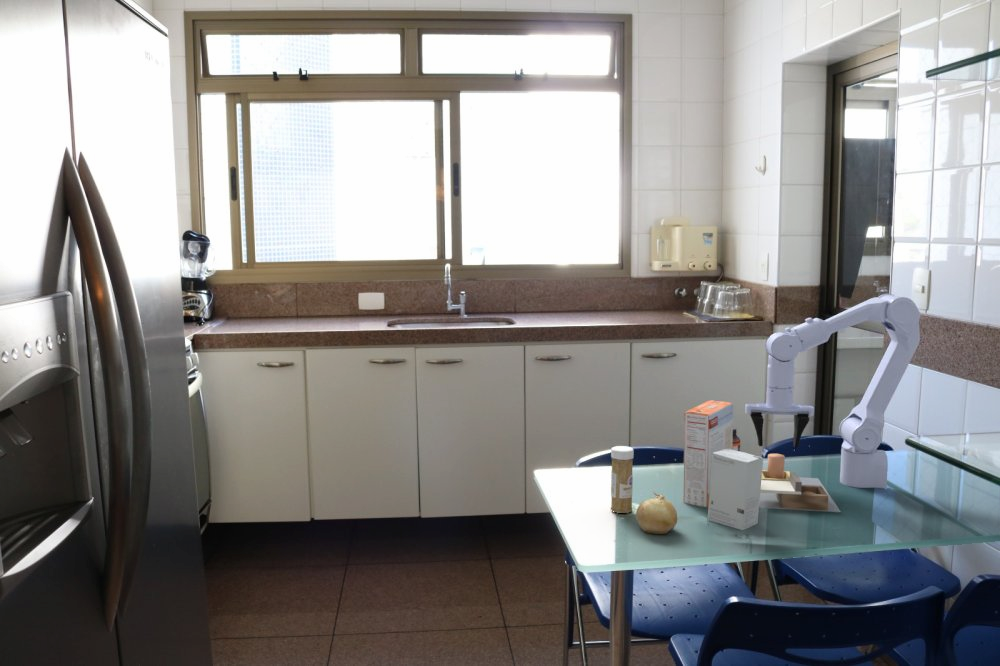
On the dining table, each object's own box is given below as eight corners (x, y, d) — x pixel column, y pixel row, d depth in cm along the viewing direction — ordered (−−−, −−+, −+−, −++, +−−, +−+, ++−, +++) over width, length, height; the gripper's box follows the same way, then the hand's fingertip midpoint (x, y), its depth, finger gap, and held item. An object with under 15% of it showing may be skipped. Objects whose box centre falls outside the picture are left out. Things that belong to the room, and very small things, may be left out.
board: (817, 483, 194) (818, 471, 194) (840, 517, 172) (841, 504, 172) (745, 480, 197) (746, 468, 197) (759, 513, 175) (759, 500, 174)
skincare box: (706, 525, 168) (708, 452, 166) (723, 518, 172) (725, 446, 170) (744, 537, 162) (747, 461, 160) (760, 529, 166) (763, 455, 164)
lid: (795, 484, 180) (795, 472, 180) (801, 494, 173) (801, 482, 173) (756, 482, 181) (756, 470, 181) (760, 492, 175) (761, 480, 174)
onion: (684, 535, 163) (685, 500, 162) (646, 540, 160) (647, 503, 159) (665, 521, 170) (665, 487, 169) (628, 525, 168) (629, 491, 167)
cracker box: (706, 490, 189) (708, 398, 187) (732, 495, 186) (735, 402, 183) (680, 507, 178) (683, 410, 175) (708, 513, 175) (711, 414, 172)
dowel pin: (782, 479, 193) (783, 454, 192) (784, 484, 190) (785, 458, 189) (766, 478, 194) (767, 453, 193) (767, 483, 191) (768, 457, 190)
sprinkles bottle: (630, 515, 173) (631, 451, 172) (608, 513, 175) (609, 449, 173) (634, 508, 178) (635, 446, 176) (612, 506, 179) (613, 444, 177)
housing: (820, 499, 180) (821, 485, 179) (827, 510, 173) (828, 496, 172) (776, 497, 181) (776, 483, 181) (781, 508, 174) (782, 494, 174)
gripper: (810, 384, 192) (807, 442, 194) (744, 382, 195) (742, 440, 196) (816, 390, 185) (814, 450, 187) (748, 388, 188) (746, 448, 190)
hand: (777, 445), depth 191 cm, fingers open, 7 cm apart
